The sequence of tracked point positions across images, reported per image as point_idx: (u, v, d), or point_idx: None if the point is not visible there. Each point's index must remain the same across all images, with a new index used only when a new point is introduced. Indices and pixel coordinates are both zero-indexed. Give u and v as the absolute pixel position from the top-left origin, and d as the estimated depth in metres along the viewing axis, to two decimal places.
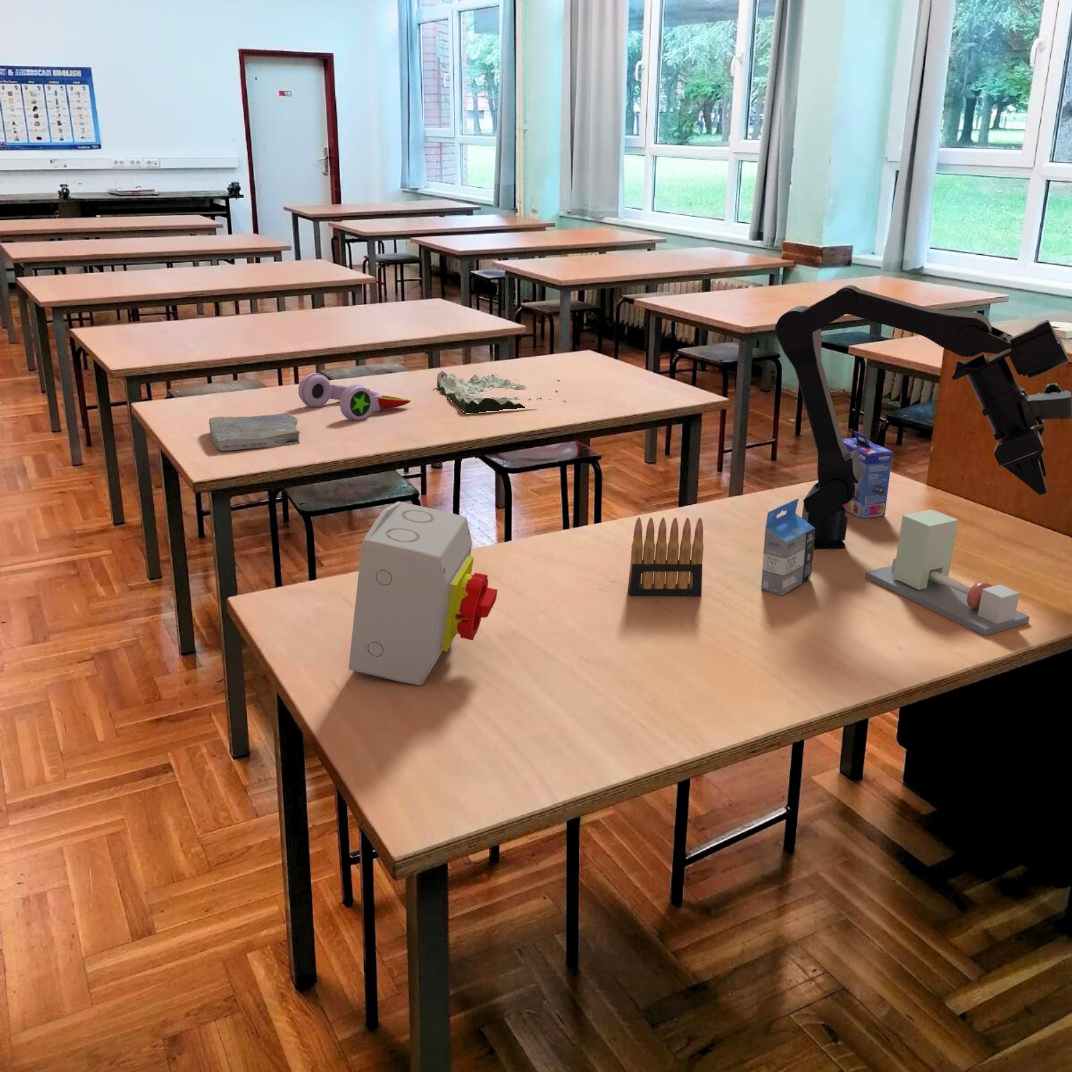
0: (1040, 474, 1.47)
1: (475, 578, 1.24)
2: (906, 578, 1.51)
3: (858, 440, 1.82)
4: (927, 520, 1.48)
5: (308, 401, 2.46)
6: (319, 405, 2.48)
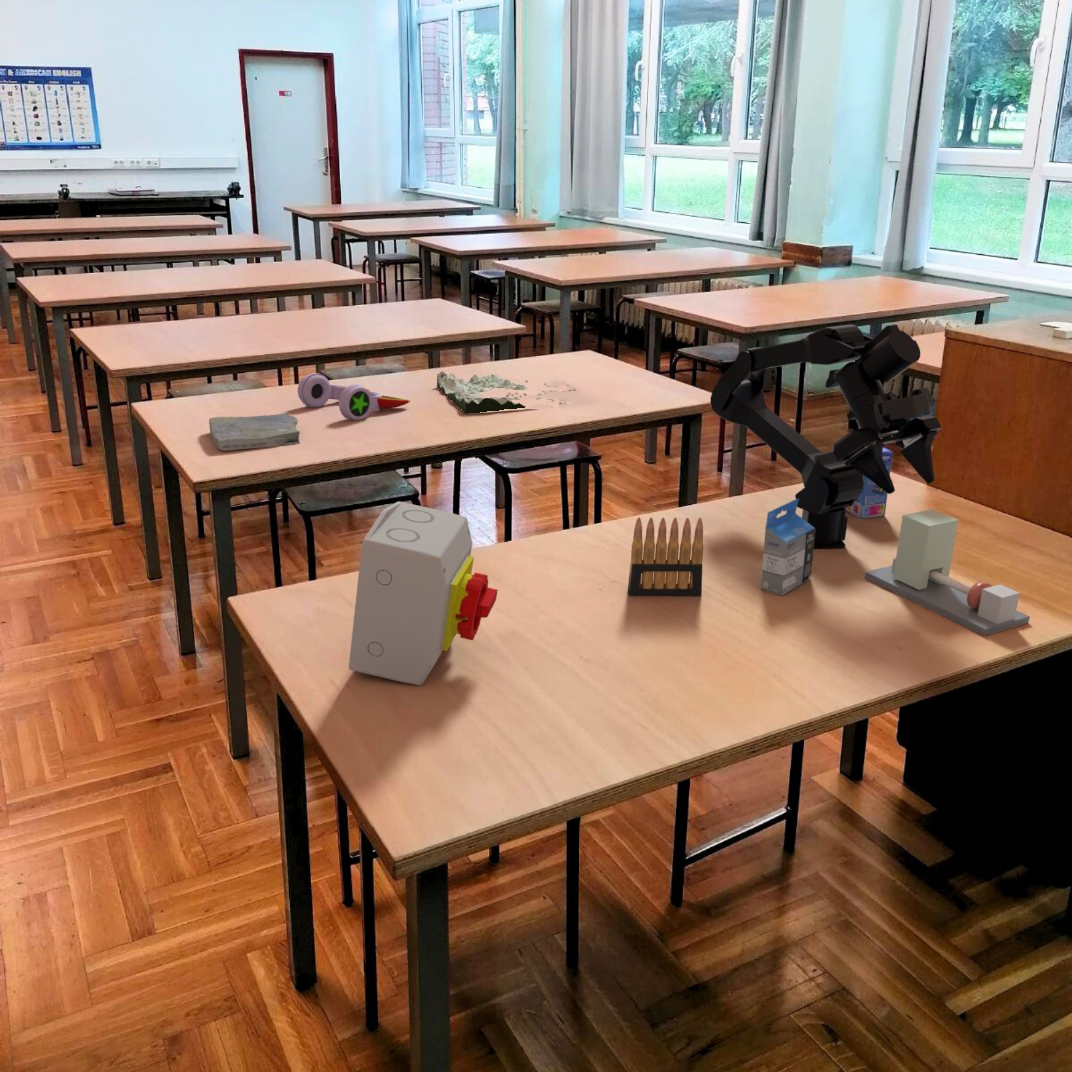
0: (882, 472, 1.50)
1: (475, 578, 1.24)
2: (906, 578, 1.51)
3: None
4: (927, 520, 1.48)
5: (308, 401, 2.46)
6: (318, 405, 2.48)
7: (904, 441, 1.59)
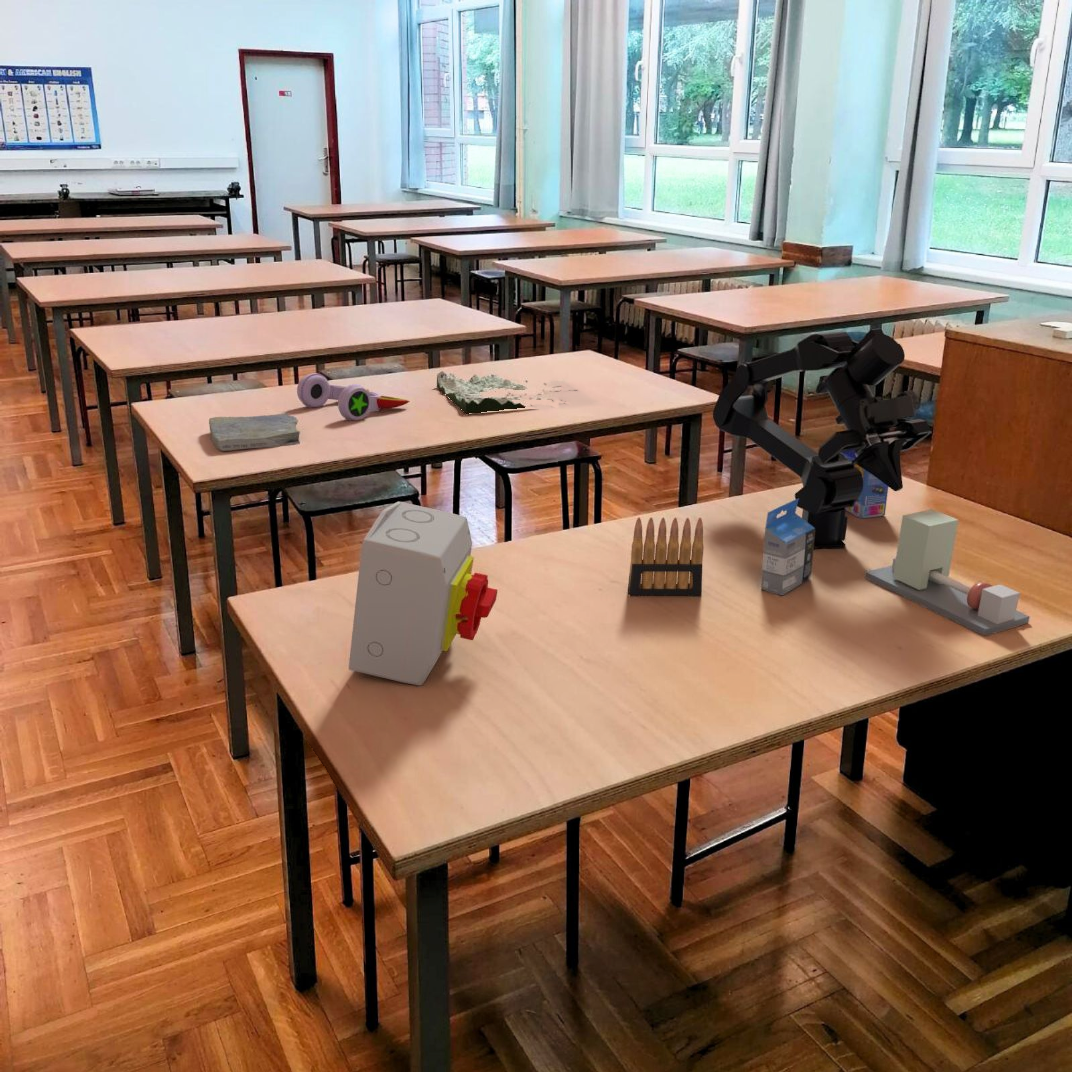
0: (887, 470, 1.53)
1: (475, 578, 1.24)
2: (906, 578, 1.51)
3: None
4: (927, 520, 1.48)
5: (307, 401, 2.45)
6: (318, 405, 2.48)
7: None
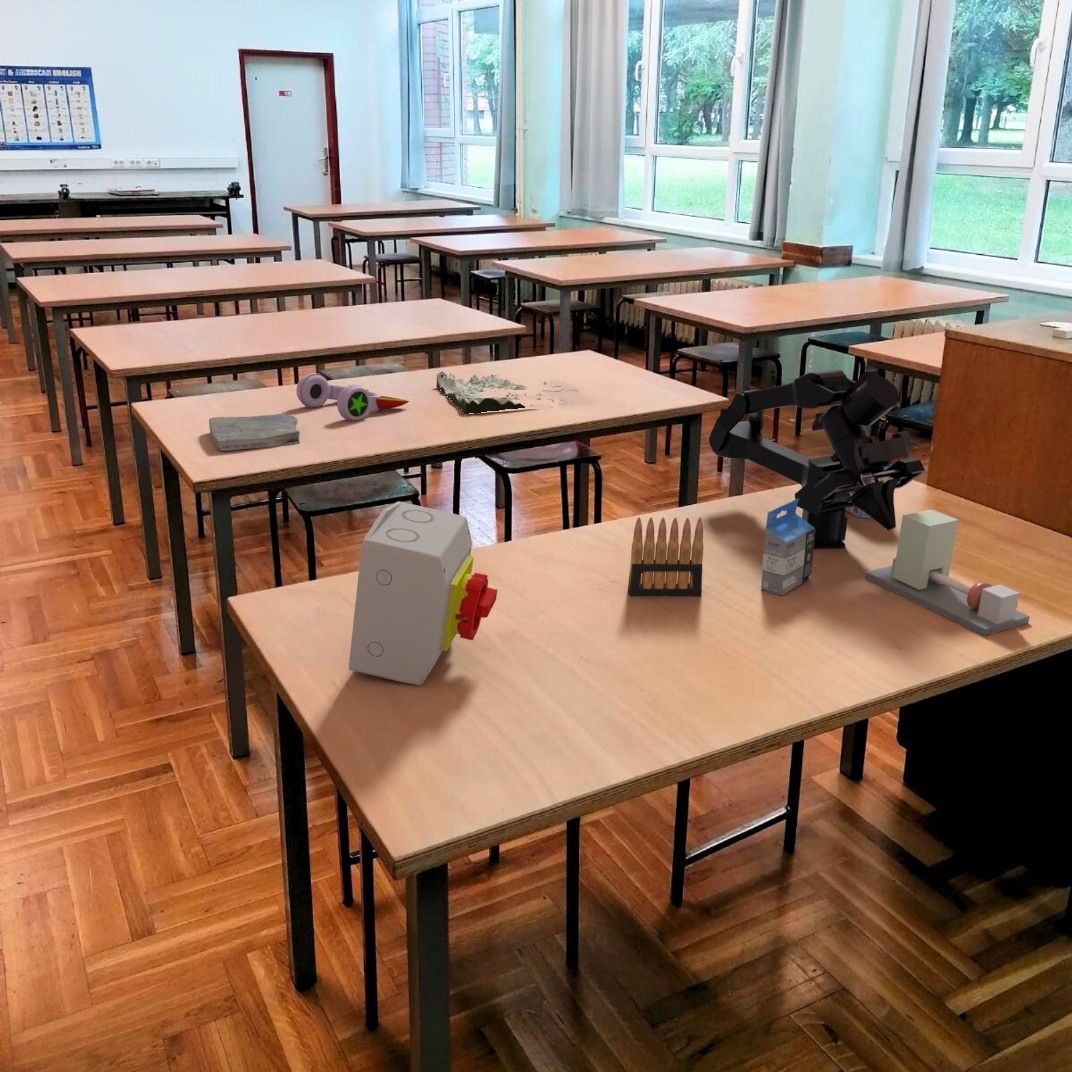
0: (881, 509, 1.55)
1: (475, 578, 1.24)
2: (906, 578, 1.51)
3: None
4: (927, 520, 1.48)
5: (306, 401, 2.45)
6: (317, 405, 2.48)
7: None
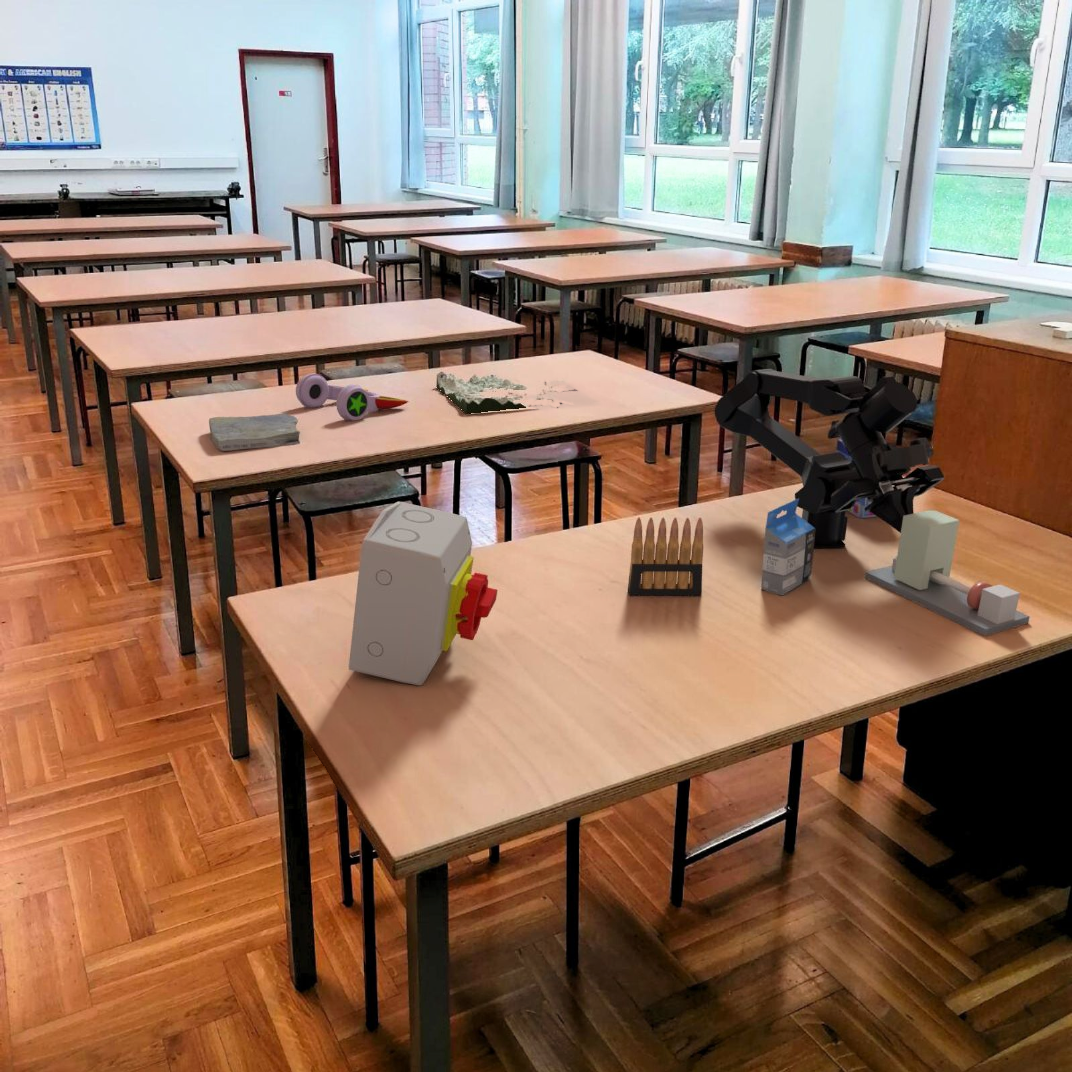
0: (900, 517, 1.52)
1: (475, 578, 1.24)
2: (907, 578, 1.51)
3: None
4: (927, 520, 1.48)
5: (306, 402, 2.45)
6: (316, 405, 2.48)
7: None
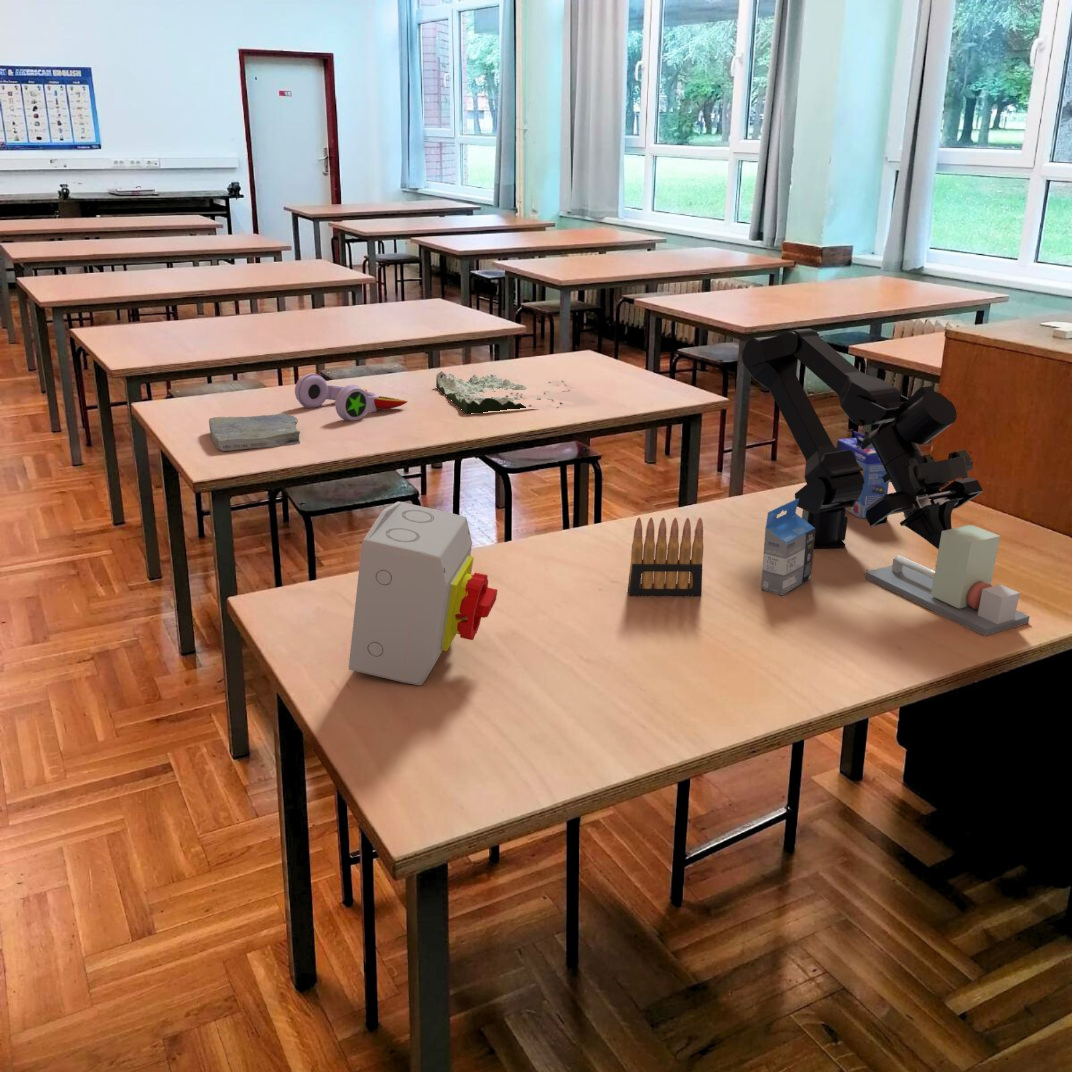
0: (938, 533, 1.46)
1: (475, 578, 1.24)
2: (945, 596, 1.45)
3: (858, 440, 1.82)
4: (967, 536, 1.42)
5: (305, 402, 2.45)
6: (315, 406, 2.48)
7: None
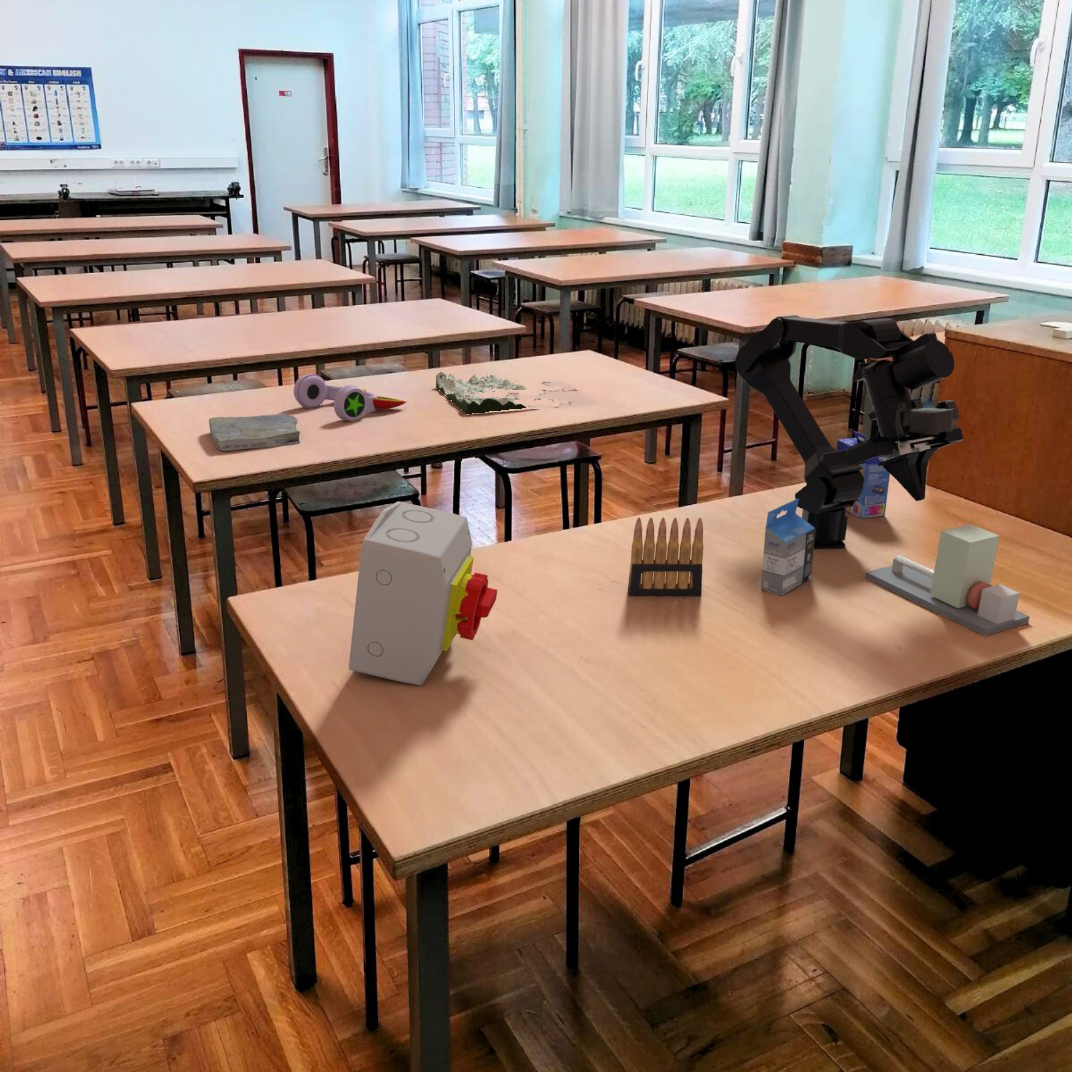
0: (912, 479, 1.50)
1: (475, 578, 1.24)
2: (944, 596, 1.45)
3: (858, 440, 1.82)
4: (966, 536, 1.42)
5: (303, 402, 2.45)
6: (314, 406, 2.47)
7: None
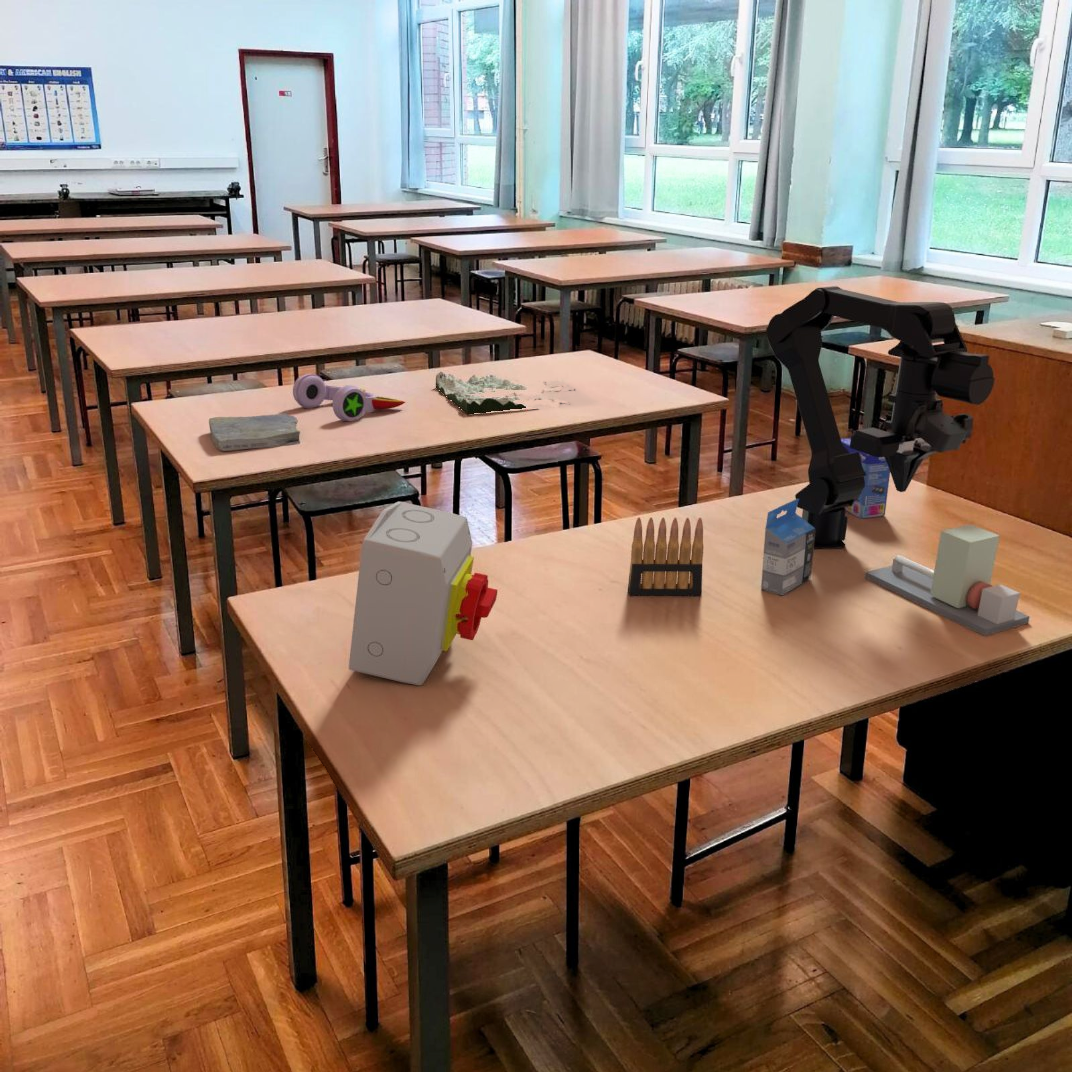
0: (902, 474, 1.52)
1: (475, 578, 1.24)
2: (944, 596, 1.45)
3: None
4: (966, 536, 1.42)
5: (302, 402, 2.45)
6: (313, 406, 2.47)
7: None
